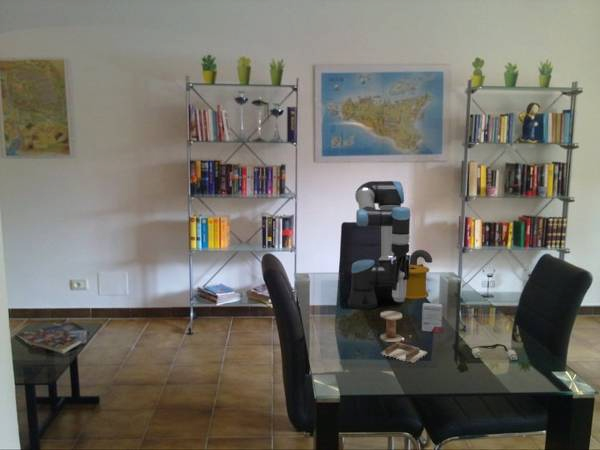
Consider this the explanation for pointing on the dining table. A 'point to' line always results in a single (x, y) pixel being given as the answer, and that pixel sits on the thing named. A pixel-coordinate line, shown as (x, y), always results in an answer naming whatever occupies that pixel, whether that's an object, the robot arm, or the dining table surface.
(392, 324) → the bobbin
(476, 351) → the cable
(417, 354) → the board
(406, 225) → the robot arm
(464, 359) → the dining table surface
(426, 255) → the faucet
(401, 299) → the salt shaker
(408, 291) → the spool
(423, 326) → the ink box
